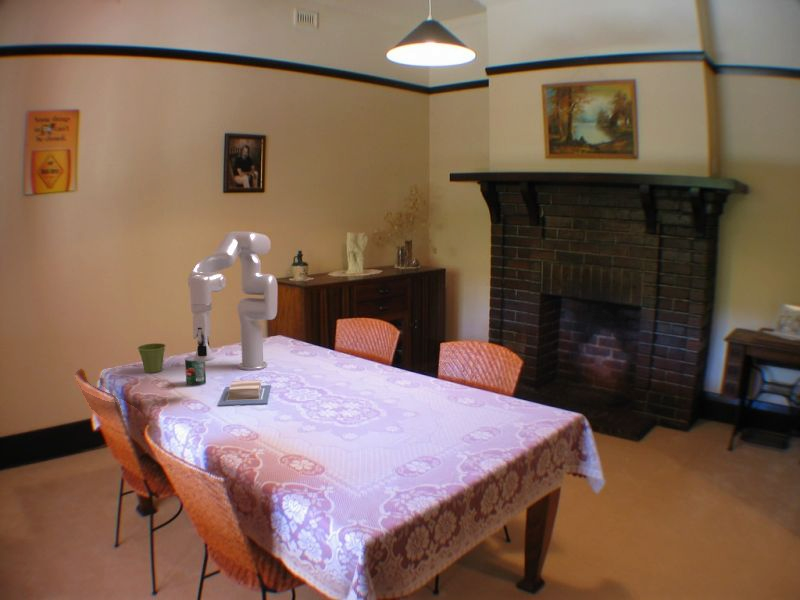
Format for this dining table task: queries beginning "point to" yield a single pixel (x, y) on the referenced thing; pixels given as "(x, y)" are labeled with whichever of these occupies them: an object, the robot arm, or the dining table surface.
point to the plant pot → (152, 356)
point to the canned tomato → (195, 372)
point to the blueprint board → (262, 399)
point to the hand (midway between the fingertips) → (203, 353)
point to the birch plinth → (245, 389)
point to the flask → (204, 358)
